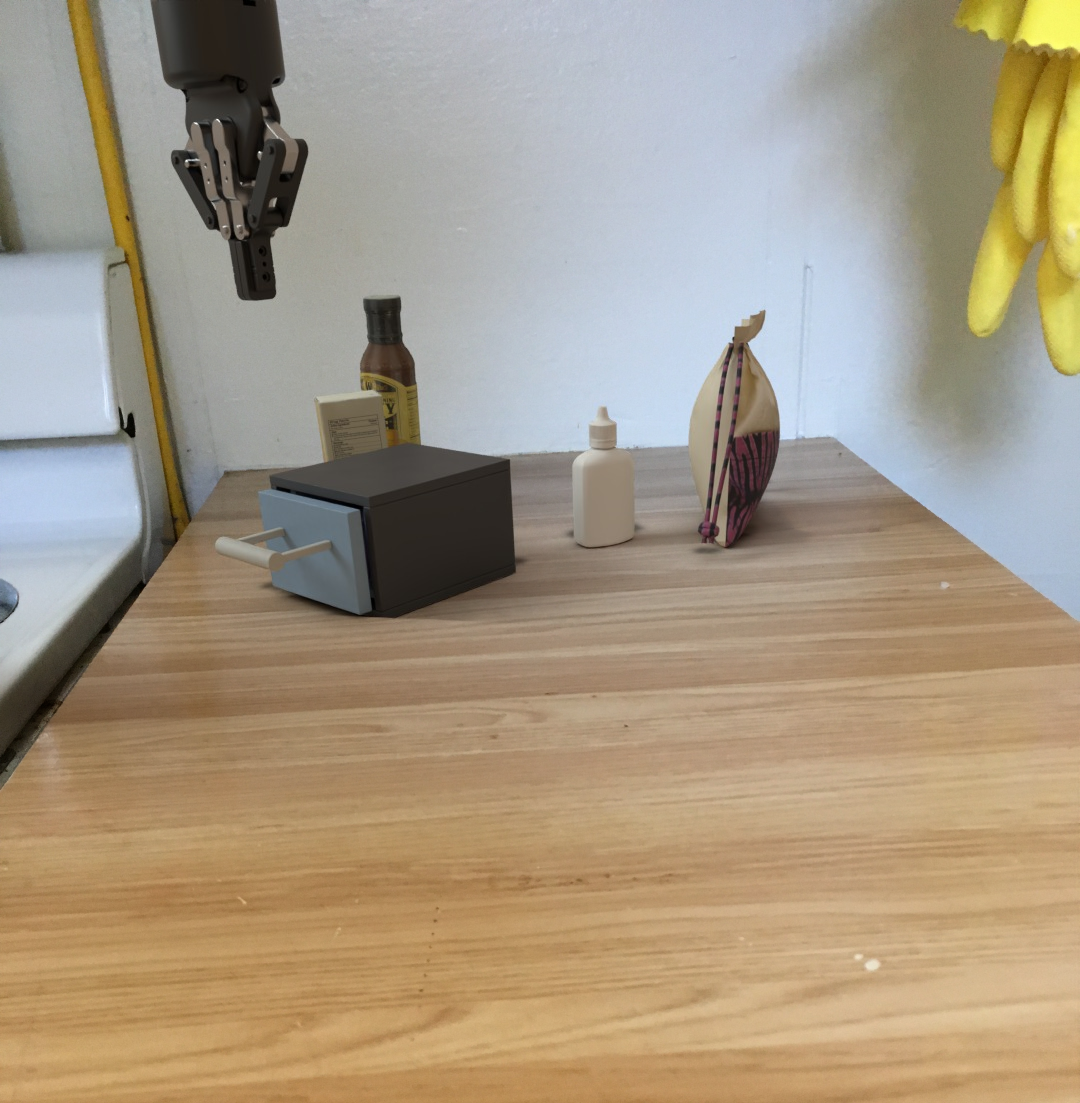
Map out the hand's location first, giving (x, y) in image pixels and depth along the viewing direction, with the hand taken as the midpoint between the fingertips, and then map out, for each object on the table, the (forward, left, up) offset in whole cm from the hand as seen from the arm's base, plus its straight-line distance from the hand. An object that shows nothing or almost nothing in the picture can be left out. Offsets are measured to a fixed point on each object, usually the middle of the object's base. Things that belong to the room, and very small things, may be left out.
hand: (258, 299), depth 73 cm
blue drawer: (+3, +4, -22) cm, 23 cm away
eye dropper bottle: (+20, +22, -23) cm, 38 cm away
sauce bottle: (-8, +44, -23) cm, 50 cm away
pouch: (+31, +29, -23) cm, 48 cm away
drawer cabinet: (+5, +9, -23) cm, 25 cm away
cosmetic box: (-6, +28, -23) cm, 37 cm away
